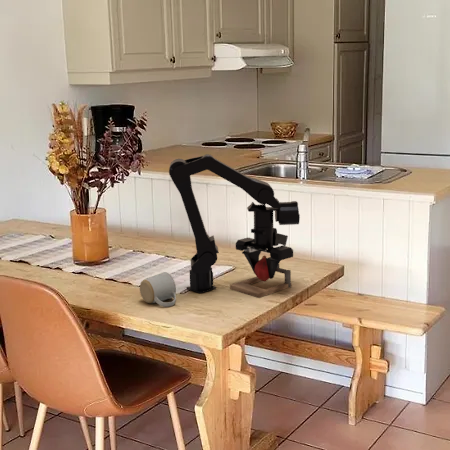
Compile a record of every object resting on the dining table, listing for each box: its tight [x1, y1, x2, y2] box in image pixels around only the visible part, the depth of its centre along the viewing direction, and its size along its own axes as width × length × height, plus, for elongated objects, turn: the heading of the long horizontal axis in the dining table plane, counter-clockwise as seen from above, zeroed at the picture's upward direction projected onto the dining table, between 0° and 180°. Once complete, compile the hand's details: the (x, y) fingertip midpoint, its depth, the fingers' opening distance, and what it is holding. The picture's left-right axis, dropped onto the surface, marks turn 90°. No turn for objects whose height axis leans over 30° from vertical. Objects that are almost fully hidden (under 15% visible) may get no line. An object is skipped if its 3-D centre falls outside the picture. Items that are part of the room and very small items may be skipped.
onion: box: [254, 255, 270, 282], centre depth 209 cm, size 6×6×8 cm
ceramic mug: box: [139, 271, 177, 308], centre depth 198 cm, size 11×8×8 cm
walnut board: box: [229, 263, 293, 299], centre depth 209 cm, size 14×12×6 cm
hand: (263, 276), depth 210 cm, fingers closed on onion, 6 cm apart
